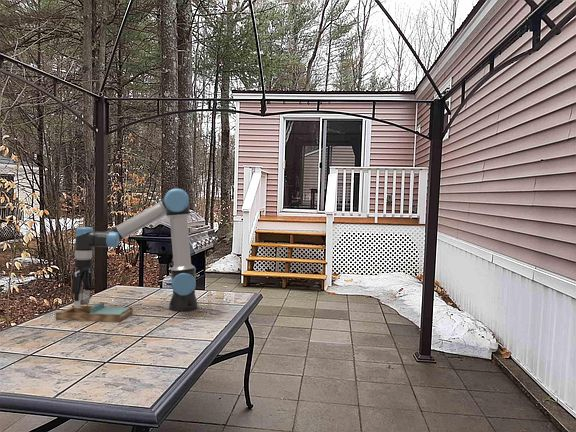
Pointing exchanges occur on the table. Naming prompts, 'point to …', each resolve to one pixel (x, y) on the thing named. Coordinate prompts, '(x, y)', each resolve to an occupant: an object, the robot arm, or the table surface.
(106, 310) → the cover
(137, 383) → the table surface
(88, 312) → the board
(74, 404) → the table surface
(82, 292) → the game die
